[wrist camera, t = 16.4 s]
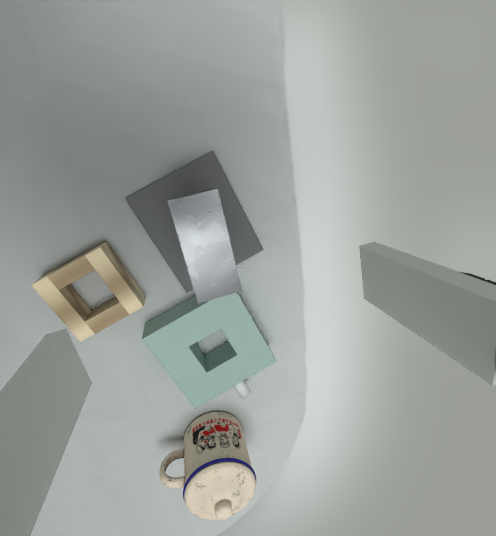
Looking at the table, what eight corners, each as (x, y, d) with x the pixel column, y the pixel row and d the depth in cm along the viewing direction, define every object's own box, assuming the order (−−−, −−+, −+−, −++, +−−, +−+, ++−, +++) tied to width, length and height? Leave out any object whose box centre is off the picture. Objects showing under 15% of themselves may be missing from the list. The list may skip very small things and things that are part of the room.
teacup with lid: (245, 406, 46) (266, 478, 35) (240, 454, 48) (259, 535, 38) (161, 413, 43) (156, 494, 32) (161, 464, 46) (156, 555, 35)
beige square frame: (42, 275, 35) (31, 285, 32) (106, 241, 35) (100, 247, 32) (87, 329, 38) (80, 341, 35) (145, 296, 38) (143, 306, 35)
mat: (125, 198, 34) (125, 198, 34) (212, 151, 35) (213, 150, 34) (186, 291, 39) (186, 292, 38) (262, 248, 39) (263, 249, 39)
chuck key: (192, 266, 37) (197, 303, 27) (170, 191, 34) (167, 200, 24) (223, 257, 38) (242, 291, 27) (205, 183, 35) (217, 188, 24)
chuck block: (145, 323, 39) (141, 339, 35) (228, 276, 39) (233, 287, 36) (206, 404, 44) (208, 426, 41) (278, 362, 45) (287, 379, 41)
